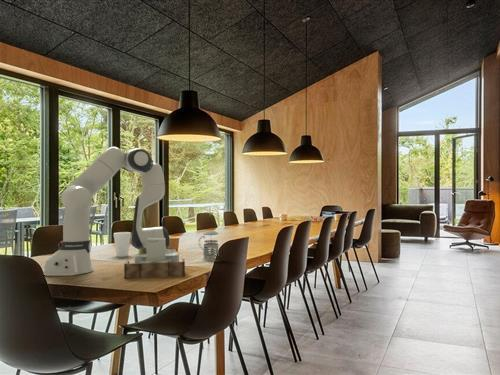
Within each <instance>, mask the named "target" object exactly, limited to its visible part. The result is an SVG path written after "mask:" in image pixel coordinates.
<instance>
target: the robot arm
mask: <svg viewBox="0 0 500 375" xmlns="http://www.w3.org/2000/svg"><path fill="white" fill-rule="evenodd" d="M121 169H123V170H125V171H127V172H131V173H135V172H136V173H139V175H140V177H141V185H142V186H141V187H142V188H141V192H140V194H139V195H138V196H137V197H136V199H135V203H134V212H133V222H132V230H131V237H130V244H131V246H132V247H133V248H135V249H137V250H143V249H146V248H147V238H166V241H165V261H168V260H169V259H171V262H180V254H179V252H178V251H177V249H175V248H169V247H170V233H169V231H168V229H166V227H164V226H154V227H142V221H143V212H144V210H145V209H146V208H148V207H149V206H152V205H153V204H156V203H158V202H160V201H161V200H162V199H163V198H164V197H165V194H166V184H165V176H164V172H163V168H162V166H161V165H160V164H159V163H158V162H154V160H153V159H152V157H151V155H150V153H149V152H148V151H147V150H145V149H144V148H139V147H136V148H132V149H129V150H127V151H123V150H122V149H121V148H119V147H117V146H111V147H109V148H107V149H106V150H104V151H103V152H102V153H101V154H100V155H99V156H98V157H96V159H95V160H93V162H92V163H91V164H90V165H89V166H88V167H87V168H86V169H84V171H83V172H82V173H81V174H80V175H78V176H77V178H75V179H74V180H73V181H72V182H71V183H70V184H69V185H68V186H67V187H66V188H65V189H64V190H63V191H62V193H61V195H60V201H61V203H62V205H63V206H64V215H63V222H62V229H63V230H62V239H63V240H61V241H60V242H59V243H58V244H57V246H58V250H57V251H55V252H54V253H53V254H52V255H50V256H49V257H47V259H46V260H45V261H44V262H45V263H44V266H43V269H42V270H43V271H44V274H45V276H46V277H49V276H50V277H51V276H54V277H55V276H57V277H58V276H60V277H61V276H76V275H82V274H87V273H91V272H93V271H94V268H93V265H92V259H91V248H92V247H91V240H90V218H91V212H92V200H93V197H94V196H96V194H97V193H98V192H99V191H101V190H102V189H103V188H104V187H105V186H106V185H107V184H108V182H109V181H110V180H111V179H112V178H113V177H114V176H115V175H116V174H117V172H118V171H120V170H121ZM141 260H143V262H146V253H138V254H136V255H135V256H134V263H140V261H141Z"/></svg>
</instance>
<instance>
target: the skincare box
mask: <svg viewBox="0 0 500 375" xmlns="http://www.w3.org/2000/svg"><path fill="white" fill-rule="evenodd" d="M165 241H166V238H147V247H146V248H145V250H146V253H145V254H146V261H165Z"/></svg>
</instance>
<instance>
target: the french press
mask: <svg viewBox="0 0 500 375" xmlns="http://www.w3.org/2000/svg"><path fill="white" fill-rule="evenodd" d="M208 215H210V216H212V215H213V212H209V213H208ZM202 234H203V235H202V236H201V237H200V238H199V239H198V241H201V239H202V238H203V239H205V237H206V236H216V235H217V236H218V235H219V234H220V233H219V232H217V231H215V230H212V229H210V230H207V231H205V232H203V233H202ZM217 242H218V240H216V239H215V240H214V239H209V240H208V239H206V240H204V244H203V247H202V246H201V244H199V245H198V246H199V248H200V249H201V250H202V251H203V258H202V259H201V260H202V261H208V262H209V261H211V262H212V261H216V260H215V257H216V254H217V252H218V253H219V243H217Z"/></svg>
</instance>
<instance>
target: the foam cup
mask: <svg viewBox="0 0 500 375" xmlns="http://www.w3.org/2000/svg"><path fill="white" fill-rule="evenodd" d="M131 233H132V231H131V232H129V231H118V232H114V233H113V238H114V239H113V240H114V247H115V253H116V257H118V258H119V257H121V258H122V257H123V258H124V257H127V256H129V253H130V252H129V251H130V244H131Z"/></svg>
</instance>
